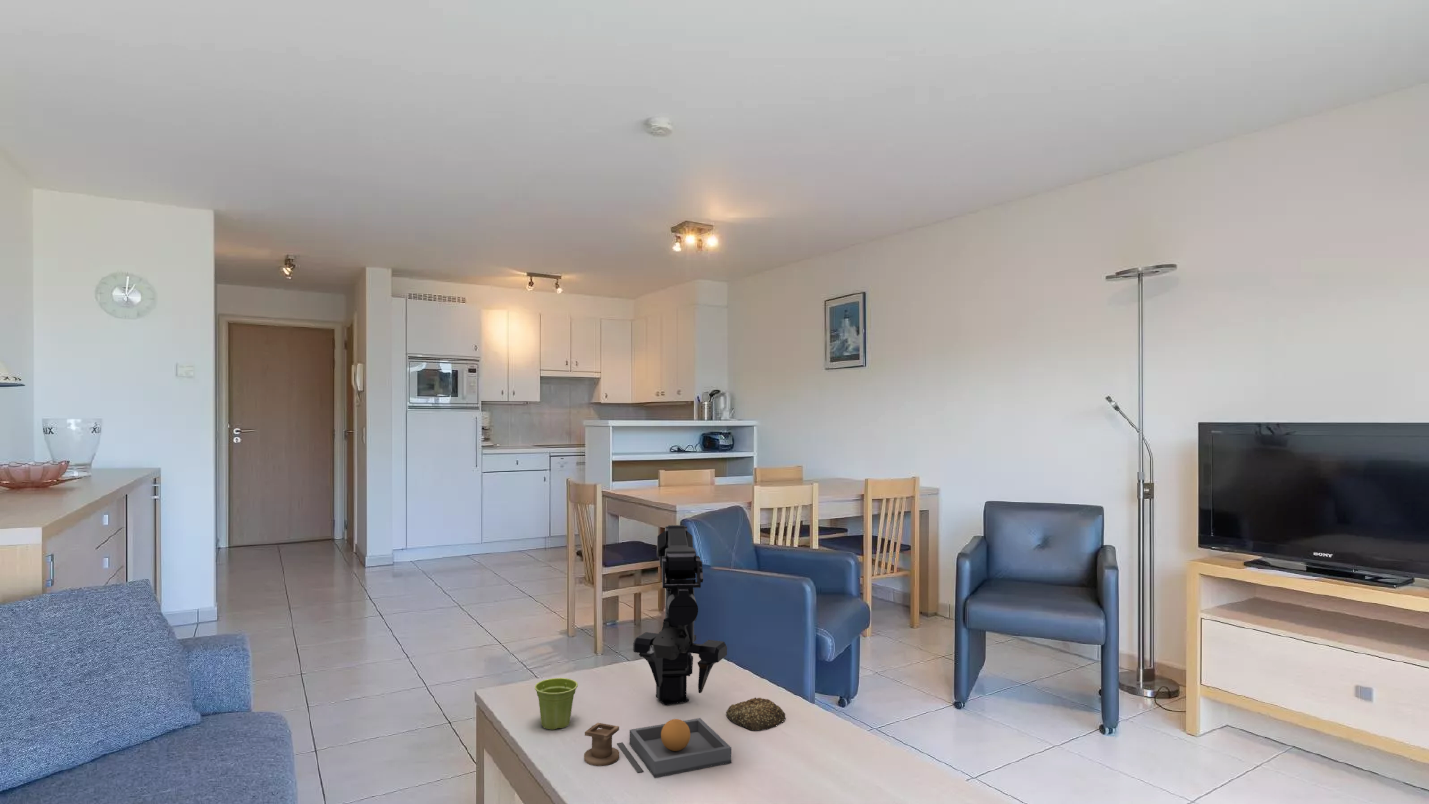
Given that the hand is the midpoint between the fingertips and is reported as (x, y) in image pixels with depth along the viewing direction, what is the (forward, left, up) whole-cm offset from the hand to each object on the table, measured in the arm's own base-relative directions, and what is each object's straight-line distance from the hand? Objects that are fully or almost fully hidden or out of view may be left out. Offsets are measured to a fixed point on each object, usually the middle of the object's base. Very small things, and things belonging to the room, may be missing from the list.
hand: (679, 689), depth 153 cm
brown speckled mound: (-23, -10, -14) cm, 28 cm away
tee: (+15, -4, -13) cm, 20 cm away
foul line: (+10, -2, -13) cm, 16 cm away
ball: (-1, -2, -11) cm, 11 cm away
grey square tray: (0, 0, -13) cm, 13 cm away
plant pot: (+20, -24, -13) cm, 34 cm away
